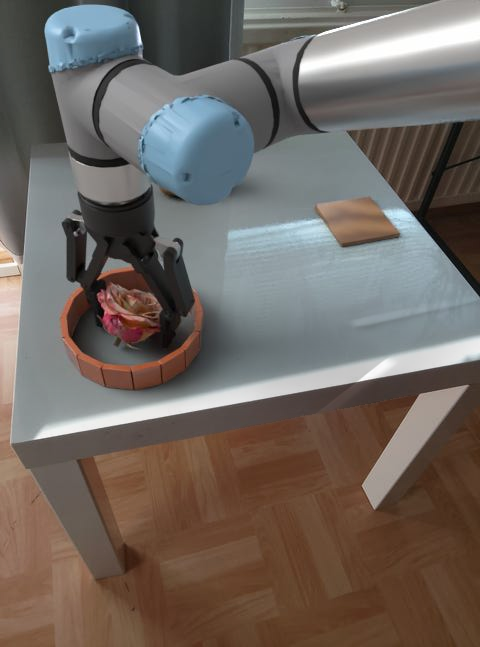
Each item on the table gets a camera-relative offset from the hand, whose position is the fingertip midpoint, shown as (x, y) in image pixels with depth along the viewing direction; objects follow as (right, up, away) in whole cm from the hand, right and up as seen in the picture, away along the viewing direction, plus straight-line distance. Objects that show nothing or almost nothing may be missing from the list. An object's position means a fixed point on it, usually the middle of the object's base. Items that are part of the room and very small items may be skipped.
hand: (136, 330), depth 68 cm
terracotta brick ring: (0, 0, +1) cm, 1 cm away
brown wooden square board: (+34, +19, +20) cm, 44 cm away
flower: (0, 0, 0) cm, 0 cm away
